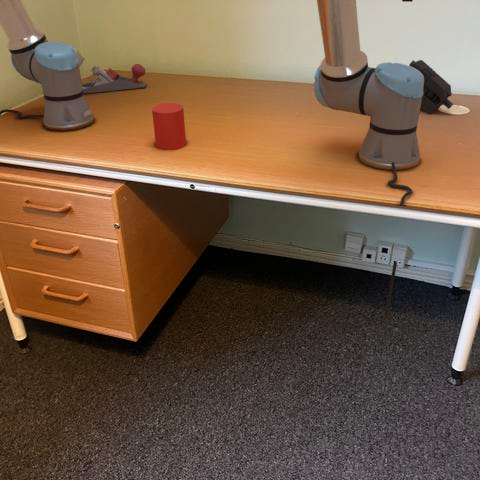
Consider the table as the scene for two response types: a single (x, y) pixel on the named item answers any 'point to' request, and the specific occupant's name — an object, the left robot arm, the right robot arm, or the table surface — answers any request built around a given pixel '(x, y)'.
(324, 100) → the right robot arm
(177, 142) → the canister
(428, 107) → the tool
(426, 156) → the table surface
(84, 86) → the hand plane
